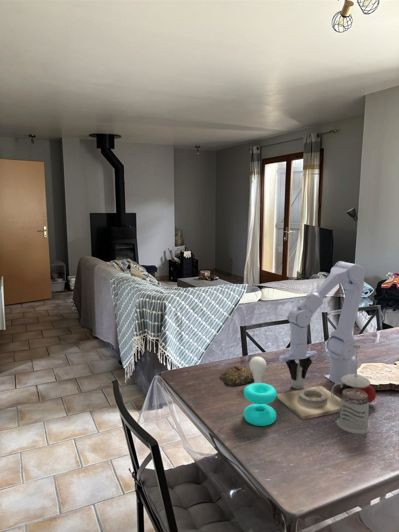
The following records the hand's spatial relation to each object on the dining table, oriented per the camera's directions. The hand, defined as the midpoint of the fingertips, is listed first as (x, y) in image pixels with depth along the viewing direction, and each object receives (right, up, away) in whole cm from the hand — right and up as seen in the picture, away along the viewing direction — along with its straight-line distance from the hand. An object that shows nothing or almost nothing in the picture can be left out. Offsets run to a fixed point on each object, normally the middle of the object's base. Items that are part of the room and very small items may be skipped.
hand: (298, 378), depth 145 cm
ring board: (+2, -5, -11) cm, 13 cm away
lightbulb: (-14, -3, +2) cm, 15 cm away
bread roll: (-21, -3, +9) cm, 23 cm away
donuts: (-17, -7, -21) cm, 28 cm away
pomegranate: (+19, -5, -13) cm, 23 cm away
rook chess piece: (0, -3, 0) cm, 3 cm away
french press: (+10, -7, -25) cm, 27 cm away
